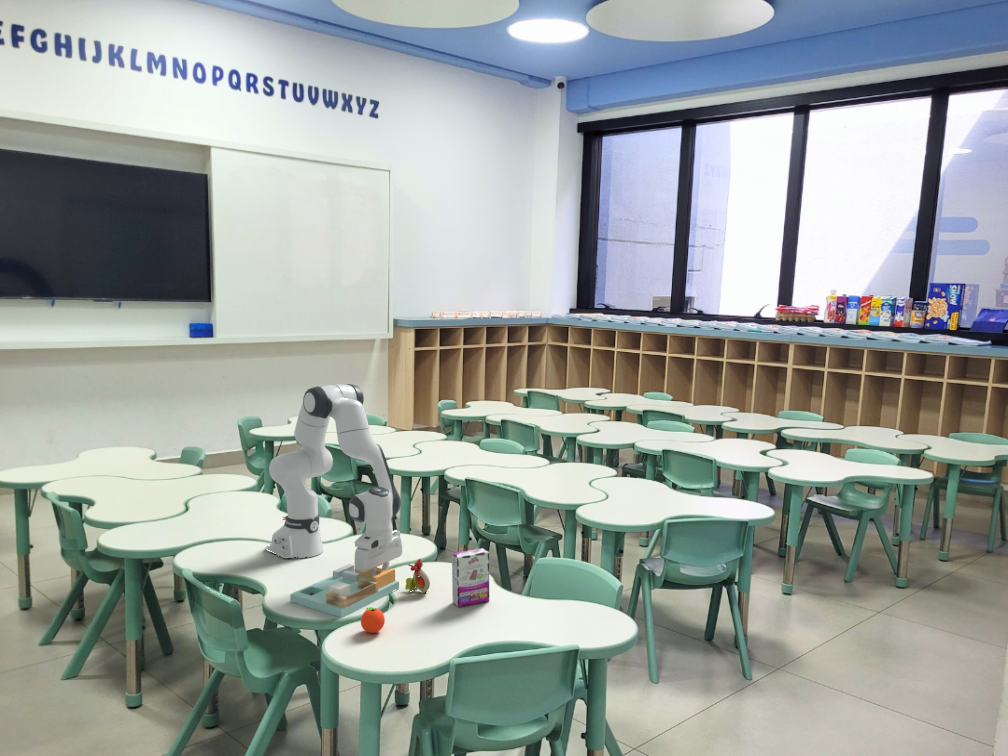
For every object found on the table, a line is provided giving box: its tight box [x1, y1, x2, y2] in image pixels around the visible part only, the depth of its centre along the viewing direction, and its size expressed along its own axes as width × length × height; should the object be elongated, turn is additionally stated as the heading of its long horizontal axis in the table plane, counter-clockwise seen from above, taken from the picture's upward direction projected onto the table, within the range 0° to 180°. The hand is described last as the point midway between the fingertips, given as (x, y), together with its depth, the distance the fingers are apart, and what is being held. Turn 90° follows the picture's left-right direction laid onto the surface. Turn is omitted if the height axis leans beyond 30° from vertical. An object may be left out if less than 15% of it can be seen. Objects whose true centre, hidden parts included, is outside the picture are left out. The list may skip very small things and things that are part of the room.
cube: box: [329, 582, 350, 597], centre depth 240 cm, size 4×4×4 cm
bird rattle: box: [405, 558, 431, 594], centre depth 253 cm, size 6×11×9 cm
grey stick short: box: [332, 563, 355, 579], centre depth 261 cm, size 2×8×2 cm, turn 148°
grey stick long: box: [342, 570, 360, 582], centre depth 257 cm, size 6×2×2 cm, turn 58°
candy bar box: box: [451, 547, 490, 608], centre depth 244 cm, size 11×5×16 cm, turn 117°
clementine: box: [360, 606, 386, 634], centre depth 223 cm, size 8×7×7 cm
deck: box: [289, 569, 400, 618], centre depth 250 cm, size 22×27×2 cm
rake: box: [354, 567, 396, 589], centre depth 256 cm, size 16×9×4 cm, turn 58°
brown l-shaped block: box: [326, 578, 378, 608], centre depth 242 cm, size 8×15×3 cm, turn 148°
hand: (379, 576), depth 257 cm, fingers closed on rake, 3 cm apart
